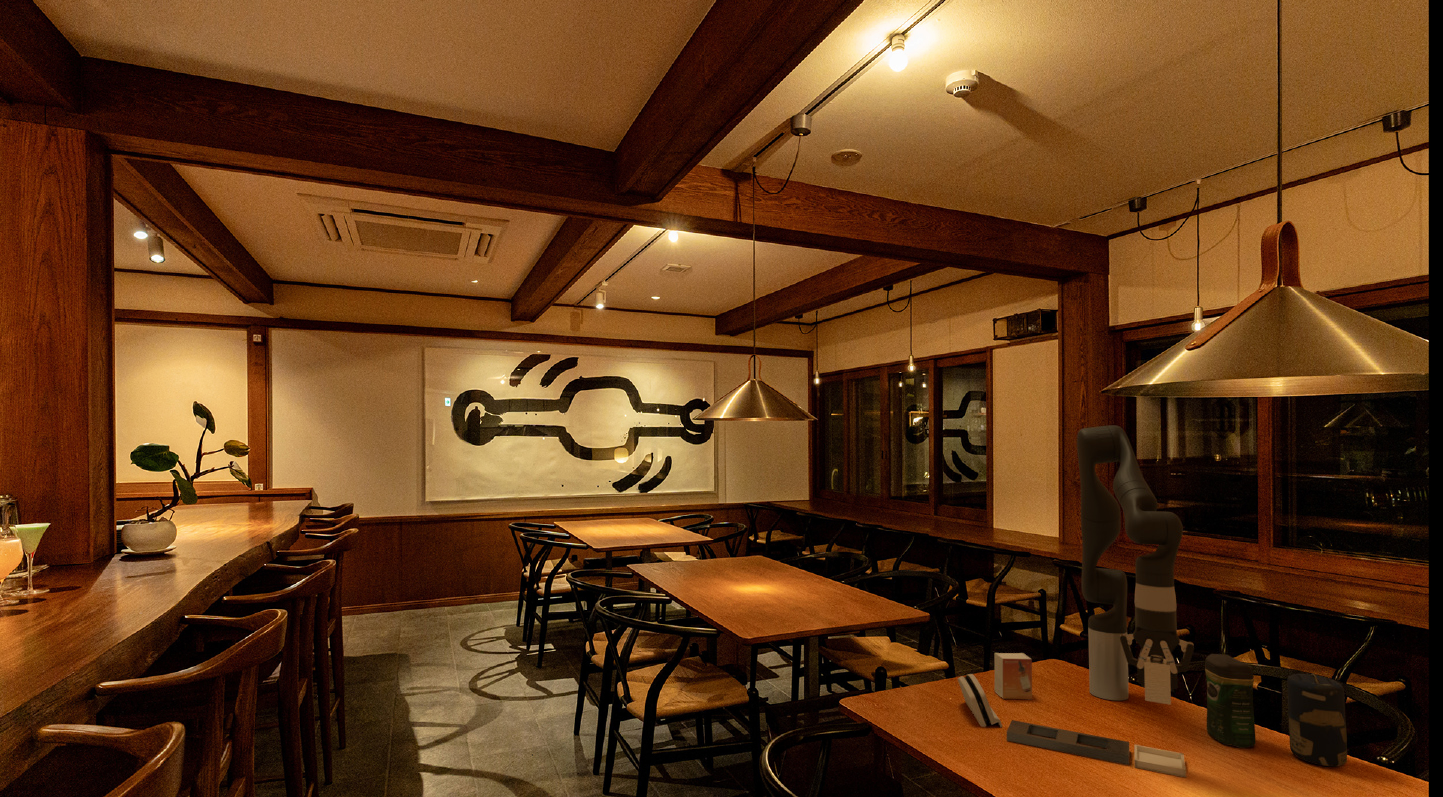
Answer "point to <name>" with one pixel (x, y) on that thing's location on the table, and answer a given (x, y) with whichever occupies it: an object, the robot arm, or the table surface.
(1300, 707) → the canister
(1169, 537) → the robot arm
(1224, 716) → the coffee jar
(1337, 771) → the table surface
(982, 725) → the beige device enclosure
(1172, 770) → the parts tray
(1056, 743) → the rack rail
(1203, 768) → the table surface
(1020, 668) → the small box
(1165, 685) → the grey rectangular block
